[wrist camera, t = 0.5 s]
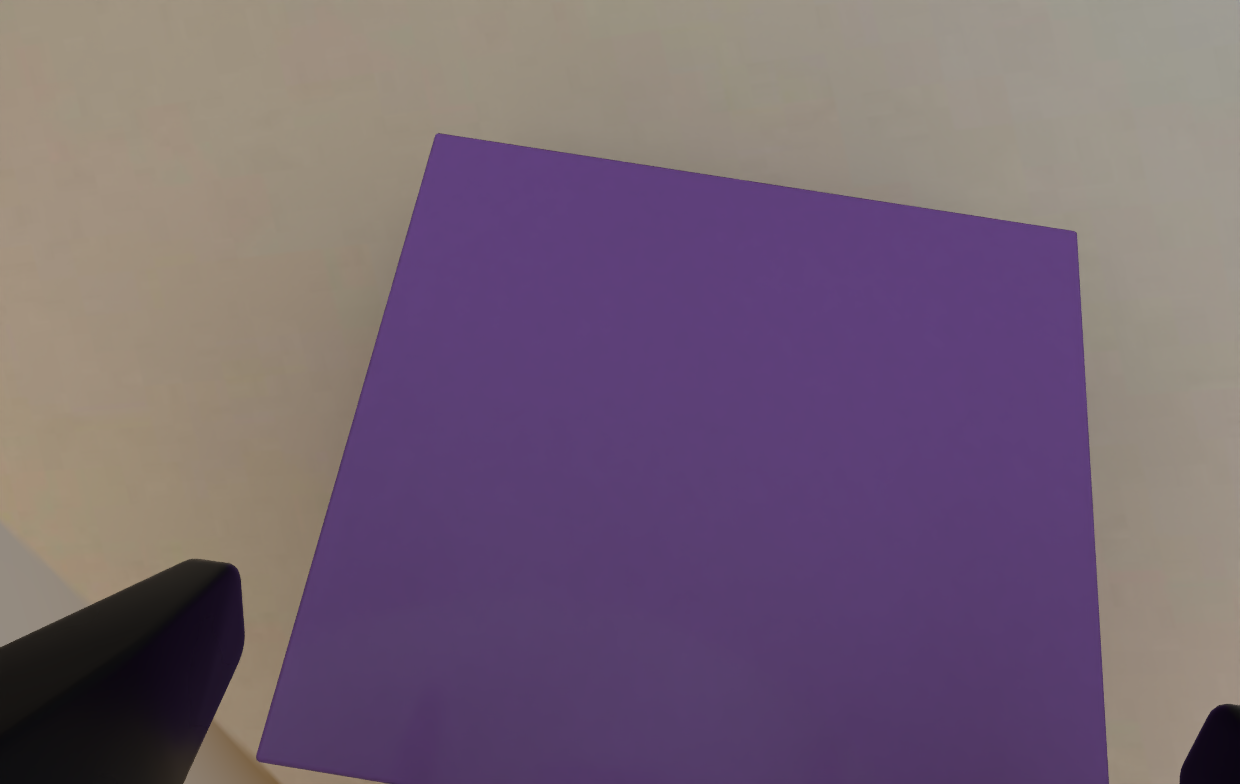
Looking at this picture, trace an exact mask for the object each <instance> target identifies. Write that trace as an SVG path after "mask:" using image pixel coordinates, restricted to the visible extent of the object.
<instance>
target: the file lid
mask: <svg viewBox="0 0 1240 784" xmlns="http://www.w3.org/2000/svg"><path fill="white" fill-rule="evenodd" d="M256 759H257V760H258V761H259V762H263V763H269V764H275V765H281V766H287V767H293V768H299V769H305V770H311V771H317V772H323V773H329V774H335V775H341V776H347V777H353V778H359V779H365V780H371V781H377V782H383V783H389V784H1109V777H1108V760H1107V743H1106V726H1105V709H1104V691H1103V674H1102V657H1101V640H1100V623H1099V606H1098V589H1097V571H1096V554H1095V537H1094V520H1093V503H1092V486H1091V468H1090V451H1089V434H1088V417H1087V400H1086V383H1085V366H1084V348H1083V331H1082V314H1081V297H1080V280H1079V263H1078V246H1077V233H1076V232H1075V231H1070V230H1063V229H1057V228H1050V227H1044V226H1037V225H1031V224H1024V223H1018V222H1011V221H1005V220H998V219H992V218H985V217H979V216H972V215H966V214H959V213H953V212H946V211H940V210H933V209H927V208H921V207H914V206H908V205H901V204H895V203H888V202H882V201H875V200H869V199H862V198H856V197H849V196H843V195H836V194H830V193H823V192H817V191H810V190H804V189H797V188H791V187H784V186H778V185H771V184H765V183H758V182H752V181H745V180H739V179H732V178H726V177H719V176H713V175H706V174H700V173H693V172H687V171H680V170H674V169H667V168H661V167H654V166H648V165H641V164H635V163H628V162H622V161H615V160H609V159H602V158H596V157H589V156H583V155H576V154H570V153H563V152H557V151H550V150H544V149H537V148H531V147H524V146H518V145H512V144H505V143H499V142H492V141H486V140H479V139H473V138H466V137H460V136H453V135H447V134H440V133H438V134H436V135H435V138H434V142H433V145H432V148H431V152H430V155H429V159H428V162H427V166H426V169H425V173H424V176H423V180H422V183H421V187H420V190H419V194H418V197H417V200H416V204H415V207H414V211H413V214H412V218H411V221H410V225H409V228H408V232H407V235H406V239H405V242H404V246H403V249H402V252H401V256H400V259H399V263H398V266H397V270H396V273H395V277H394V280H393V284H392V287H391V291H390V294H389V297H388V301H387V304H386V308H385V311H384V315H383V318H382V322H381V325H380V329H379V332H378V336H377V339H376V343H375V346H374V349H373V353H372V356H371V360H370V363H369V367H368V370H367V374H366V377H365V381H364V384H363V388H362V391H361V394H360V398H359V401H358V405H357V408H356V412H355V415H354V419H353V422H352V426H351V429H350V433H349V436H348V440H347V443H346V446H345V450H344V453H343V457H342V460H341V464H340V467H339V471H338V474H337V478H336V481H335V485H334V488H333V492H332V495H331V498H330V502H329V505H328V509H327V512H326V516H325V519H324V523H323V526H322V530H321V533H320V537H319V540H318V543H317V547H316V550H315V554H314V557H313V561H312V564H311V568H310V571H309V575H308V578H307V582H306V585H305V589H304V592H303V595H302V599H301V602H300V606H299V609H298V613H297V616H296V620H295V623H294V627H293V630H292V634H291V637H290V641H289V644H288V647H287V651H286V654H285V658H284V661H283V665H282V668H281V672H280V675H279V679H278V682H277V686H276V689H275V692H274V696H273V699H272V703H271V706H270V710H269V713H268V717H267V720H266V724H265V727H264V731H263V734H262V738H261V741H260V744H259V748H258V751H257V755H256Z"/></svg>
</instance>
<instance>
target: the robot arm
mask: <svg viewBox="0 0 1240 784" xmlns="http://www.w3.org/2000/svg"><path fill="white" fill-rule="evenodd" d="M244 638H245V631H244V617H243V604H242V590H241V579H240V574H239V572H238V569H237V568H236V567H235V566H233V565H232V564H230V563H224V562H217V561H210V560H203V559H189V560H187V561H184V562H182V563H180V564H177V565H175V566H173V567H171V568H169V569H167V570H165V571H162V572H160V573H158V574H156V575H154V576H152V577H150V578H148V579H145V580H143V581H141V582H139V583H137V584H135V585H133V586H130V587H128V588H126V589H124V590H122V591H120V592H118V593H116V594H113V595H111V596H109V597H107V598H105V599H103V600H101V601H98V602H96V603H94V604H92V605H90V606H88V607H86V608H84V609H81V610H79V611H77V612H75V613H73V614H71V615H69V616H66V617H64V618H62V619H60V620H58V621H56V622H54V623H51V624H49V625H47V626H45V627H43V628H41V629H39V630H37V631H34V632H32V633H30V634H28V635H26V636H24V637H22V638H20V639H17V640H15V641H13V642H11V643H9V644H7V645H5V646H2V647H0V784H183V783H184V781H185V779H186V776H187V774H188V772H189V770H190V768H191V766H192V763H193V761H194V759H195V757H196V754H197V752H198V750H199V748H200V746H201V744H202V742H203V739H204V737H205V735H206V733H207V731H208V728H209V726H210V724H211V722H212V720H213V717H214V715H215V713H216V711H217V709H218V706H219V704H220V702H221V700H222V698H223V696H224V693H225V691H226V689H227V687H228V685H229V682H230V680H231V678H232V676H233V674H234V671H235V669H236V667H237V665H238V663H239V660H240V657H241V654H242V651H243V646H244ZM1180 784H1240V705H1233V704H1223V705H1219V706H1217V707H1216V708H1215V709H1213V710H1212V711H1211V712H1210V714H1209V715H1208V717H1207V719H1206V721H1205V723H1204V725H1203V727H1202V729H1201V730H1200V732H1199V734H1198V736H1197V738H1196V740H1195V742H1194V744H1193V746H1192V748H1191V750H1190V752H1189V754H1188V756H1187V757H1186V759H1185V761H1184V763H1183V766H1182V768H1181V773H1180Z"/></svg>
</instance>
